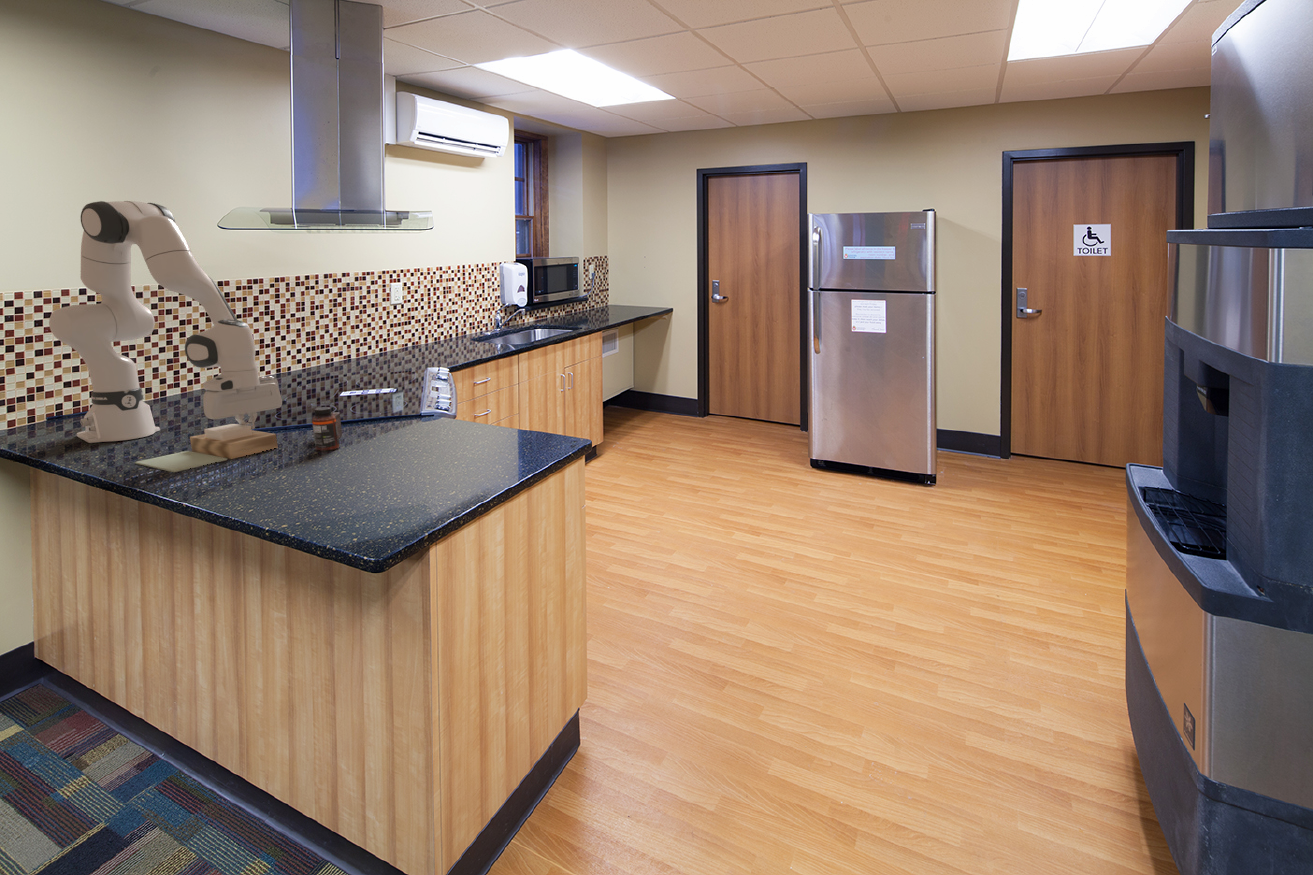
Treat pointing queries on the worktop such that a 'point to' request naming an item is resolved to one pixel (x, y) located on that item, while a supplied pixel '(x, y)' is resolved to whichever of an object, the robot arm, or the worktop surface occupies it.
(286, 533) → the worktop surface
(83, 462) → the worktop surface
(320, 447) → the supplement bottle
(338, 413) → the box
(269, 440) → the serving board
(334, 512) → the worktop surface
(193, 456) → the mat
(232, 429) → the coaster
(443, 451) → the worktop surface
